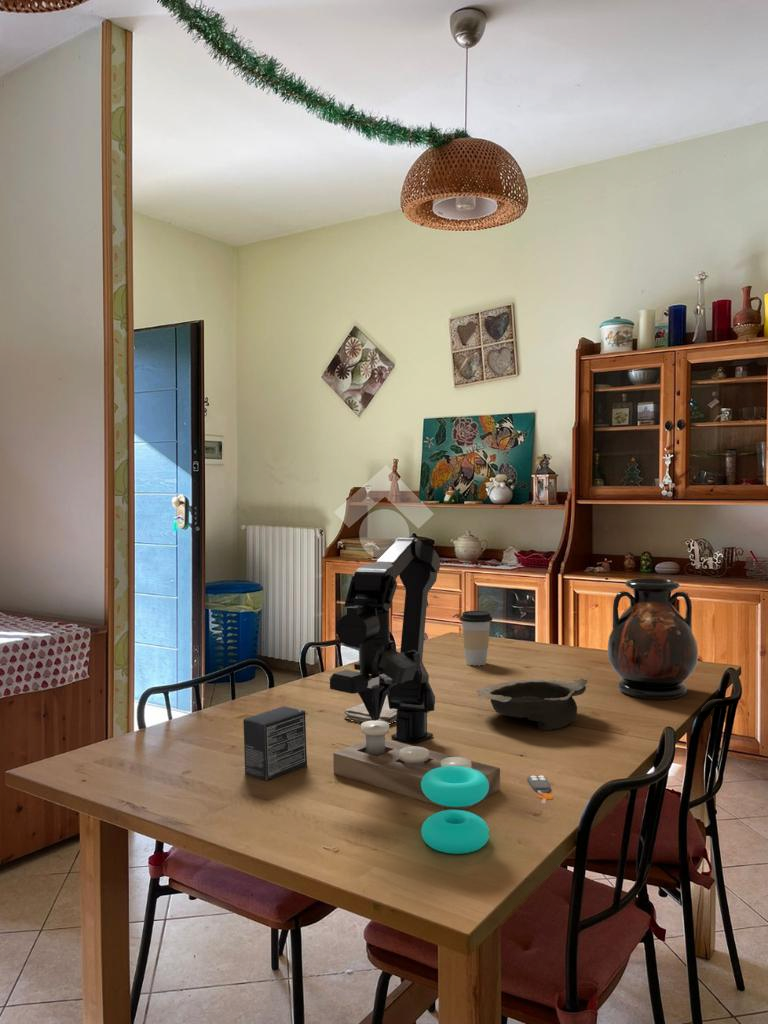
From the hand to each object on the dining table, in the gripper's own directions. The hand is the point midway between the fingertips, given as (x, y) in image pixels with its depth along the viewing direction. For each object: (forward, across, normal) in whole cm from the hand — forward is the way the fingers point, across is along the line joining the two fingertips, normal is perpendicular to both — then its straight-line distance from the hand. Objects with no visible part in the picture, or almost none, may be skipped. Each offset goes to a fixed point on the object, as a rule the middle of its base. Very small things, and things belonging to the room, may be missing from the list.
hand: (375, 720), depth 146 cm
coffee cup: (+10, +84, +32) cm, 90 cm away
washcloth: (+10, +29, +21) cm, 37 cm away
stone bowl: (+10, +46, -7) cm, 47 cm away
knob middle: (+9, 0, -9) cm, 13 cm away
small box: (+10, -11, +15) cm, 21 cm away
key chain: (+10, +9, -30) cm, 33 cm away
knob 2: (+9, 0, -18) cm, 20 cm away
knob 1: (+6, 0, 0) cm, 6 cm away
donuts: (+10, -15, -28) cm, 33 cm away
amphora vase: (+10, +84, -20) cm, 87 cm away
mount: (+9, 0, -9) cm, 13 cm away
